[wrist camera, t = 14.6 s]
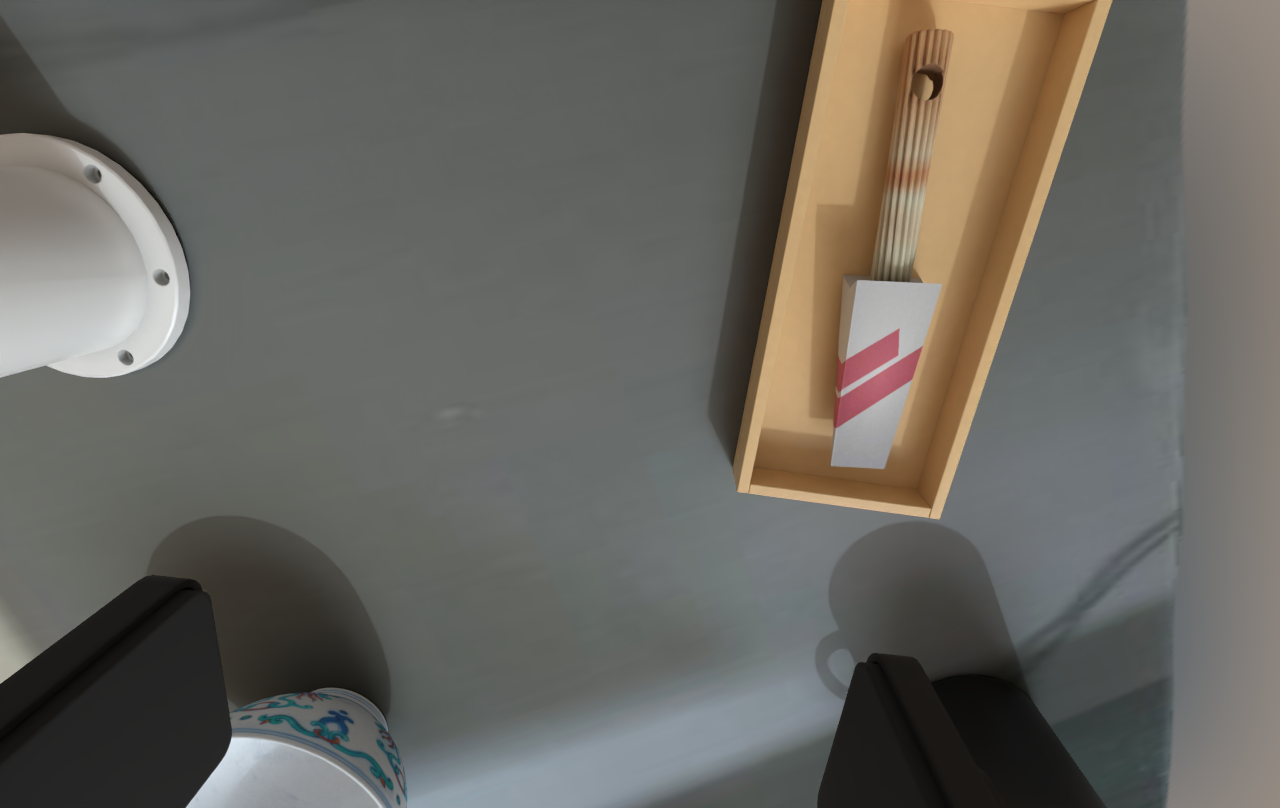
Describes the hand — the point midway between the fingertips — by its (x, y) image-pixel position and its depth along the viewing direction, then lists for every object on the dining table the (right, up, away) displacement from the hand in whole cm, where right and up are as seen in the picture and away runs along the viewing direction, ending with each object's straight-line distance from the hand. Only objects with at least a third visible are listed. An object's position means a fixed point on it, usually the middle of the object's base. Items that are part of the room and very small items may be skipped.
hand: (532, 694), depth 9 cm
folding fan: (+14, +11, +21) cm, 27 cm away
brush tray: (+14, +11, +21) cm, 28 cm away
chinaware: (-20, -19, +34) cm, 44 cm away
